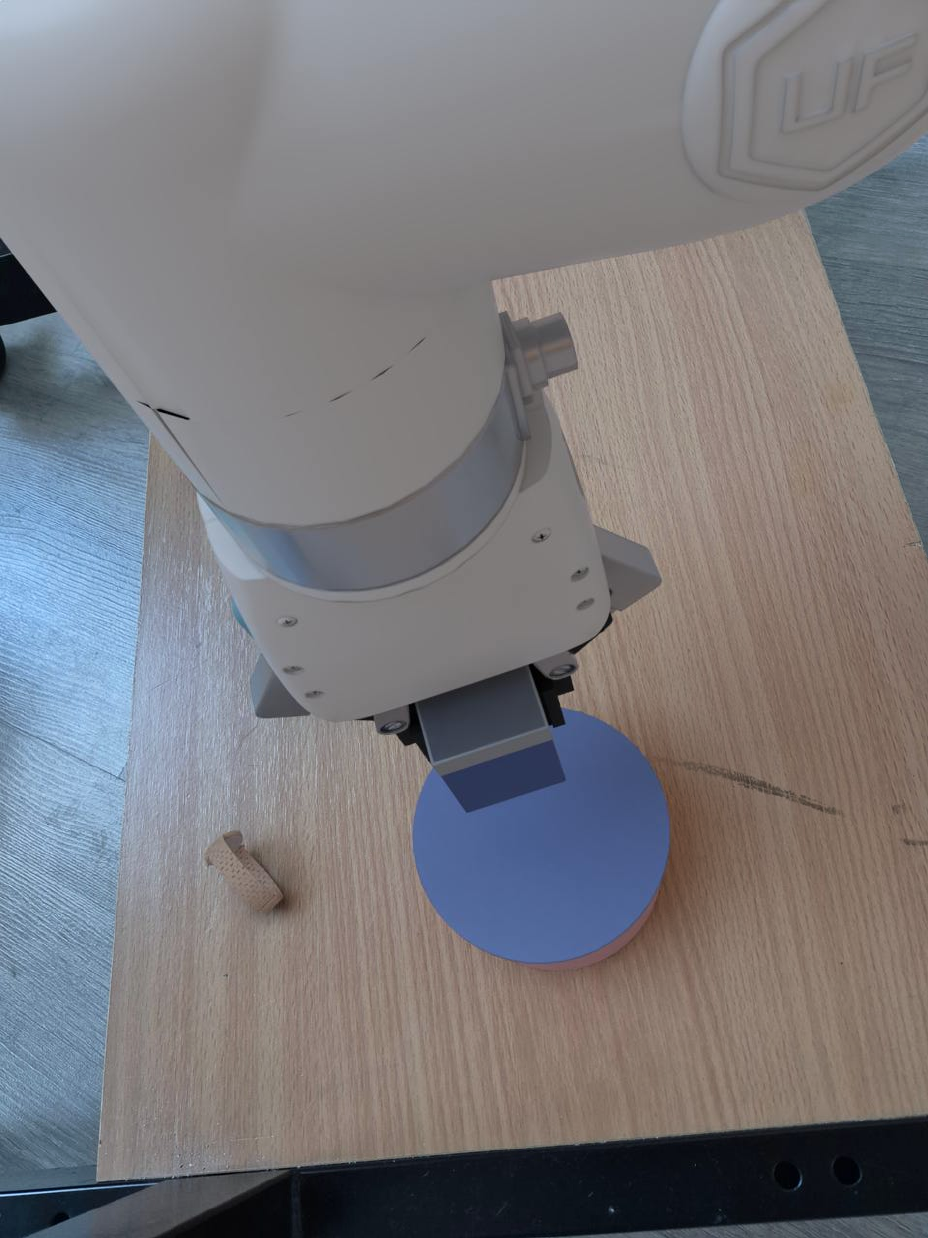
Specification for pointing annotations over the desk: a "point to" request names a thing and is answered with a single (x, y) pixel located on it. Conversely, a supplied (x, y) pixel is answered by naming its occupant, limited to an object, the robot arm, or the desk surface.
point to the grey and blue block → (490, 739)
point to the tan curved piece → (243, 871)
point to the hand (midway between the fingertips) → (488, 710)
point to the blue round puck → (551, 854)
